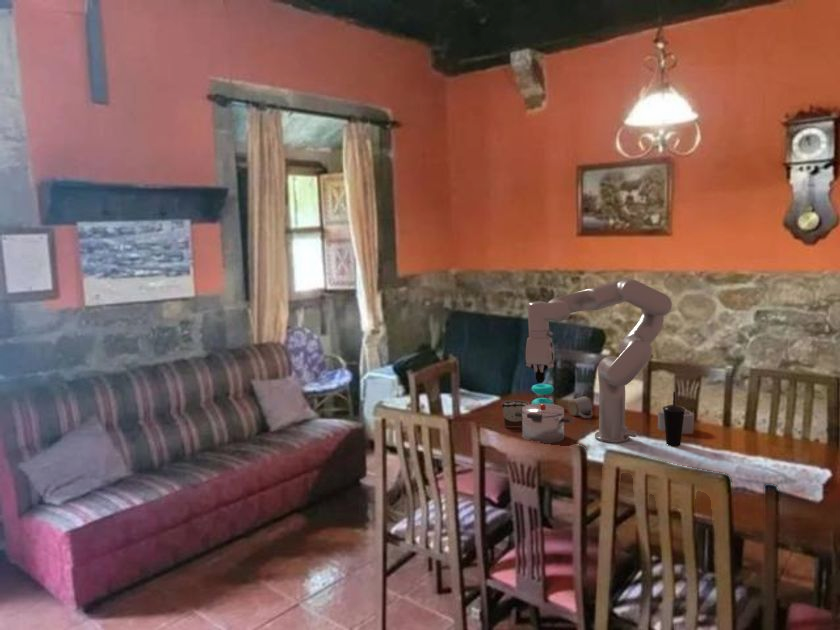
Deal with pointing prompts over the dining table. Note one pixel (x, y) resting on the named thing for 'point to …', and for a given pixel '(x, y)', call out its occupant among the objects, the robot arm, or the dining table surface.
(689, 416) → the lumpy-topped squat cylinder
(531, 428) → the pot
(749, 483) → the dining table surface
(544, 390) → the donuts
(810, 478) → the dining table surface
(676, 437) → the drinking cup
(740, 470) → the dining table surface
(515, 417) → the food container
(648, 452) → the dining table surface
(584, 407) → the ceramic mug
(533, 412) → the lid
